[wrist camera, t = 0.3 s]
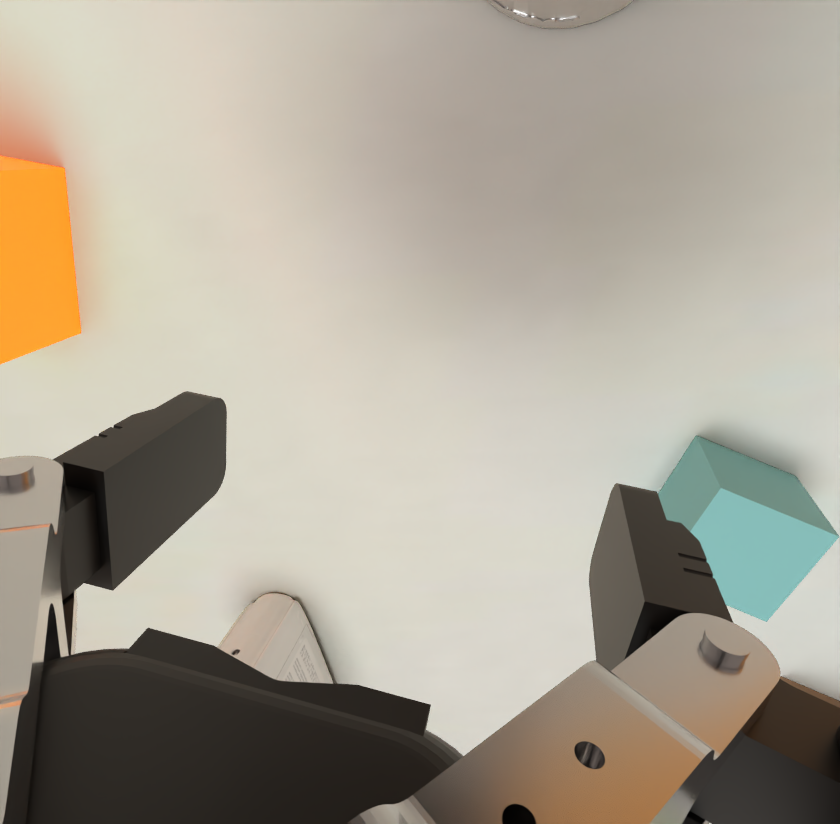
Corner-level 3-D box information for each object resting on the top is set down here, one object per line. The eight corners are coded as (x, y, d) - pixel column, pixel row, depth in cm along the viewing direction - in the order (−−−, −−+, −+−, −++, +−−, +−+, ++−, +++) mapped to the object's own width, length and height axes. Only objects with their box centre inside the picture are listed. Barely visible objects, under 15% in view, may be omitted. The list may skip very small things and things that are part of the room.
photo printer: (242, 592, 39) (116, 768, 28) (300, 587, 38) (192, 769, 27) (294, 709, 43) (201, 906, 31) (349, 707, 41) (272, 913, 30)
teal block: (695, 434, 29) (720, 487, 24) (795, 475, 28) (839, 536, 24) (644, 514, 31) (658, 576, 26) (736, 552, 31) (766, 621, 26)
